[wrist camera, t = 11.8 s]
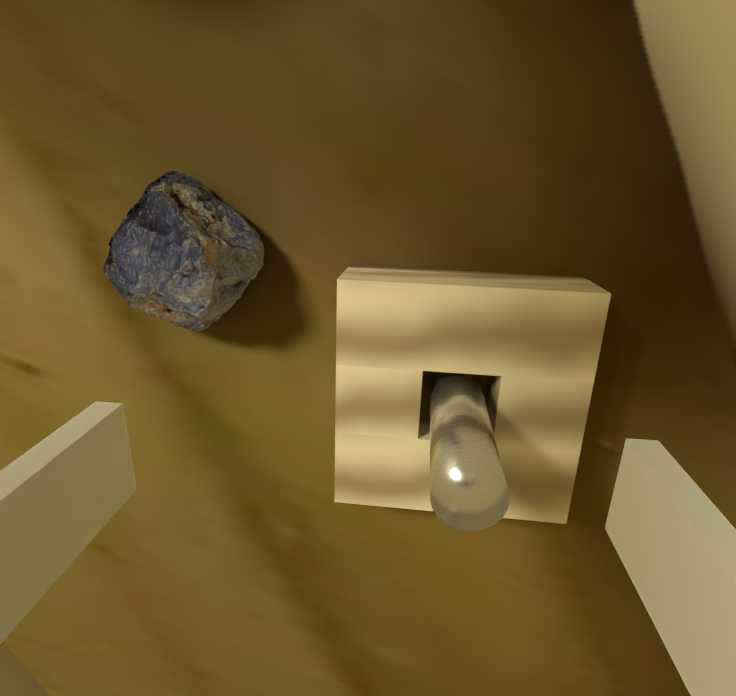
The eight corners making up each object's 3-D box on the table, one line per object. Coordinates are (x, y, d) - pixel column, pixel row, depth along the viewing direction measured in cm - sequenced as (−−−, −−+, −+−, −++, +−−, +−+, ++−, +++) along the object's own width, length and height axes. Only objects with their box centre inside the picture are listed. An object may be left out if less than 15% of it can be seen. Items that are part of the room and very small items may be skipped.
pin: (431, 357, 40) (432, 460, 25) (481, 361, 39) (514, 468, 24) (428, 402, 41) (427, 527, 26) (476, 406, 41) (504, 535, 26)
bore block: (349, 265, 39) (337, 279, 34) (583, 276, 38) (611, 293, 32) (345, 461, 45) (334, 501, 39) (547, 479, 43) (566, 523, 38)
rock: (147, 143, 35) (122, 213, 28) (275, 209, 41) (281, 282, 34) (101, 253, 41) (71, 335, 34) (219, 299, 46) (214, 378, 39)
